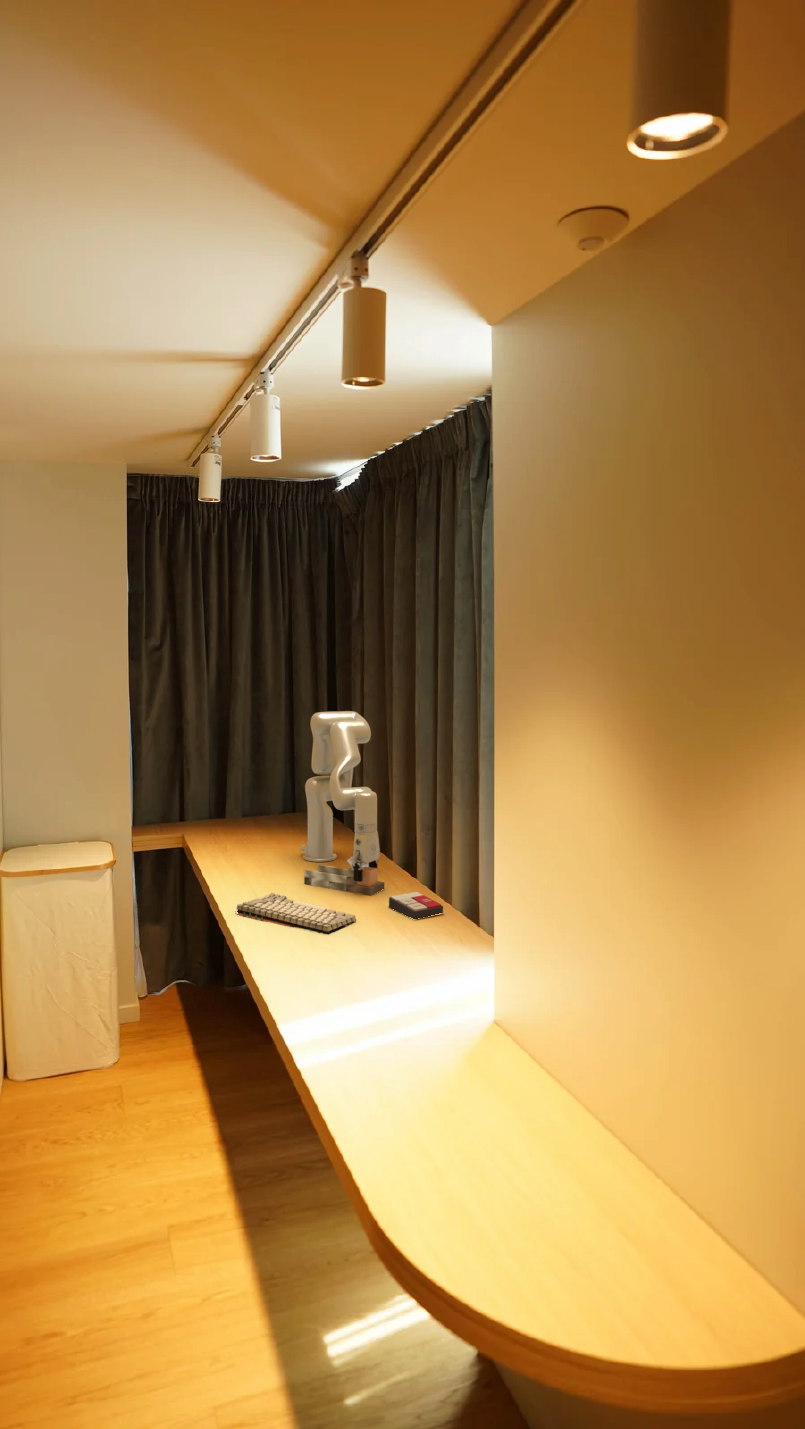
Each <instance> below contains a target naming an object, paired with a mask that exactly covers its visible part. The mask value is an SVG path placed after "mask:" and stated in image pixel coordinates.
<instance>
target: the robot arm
mask: <svg viewBox="0 0 805 1429" xmlns="http://www.w3.org/2000/svg"><path fill="white" fill-rule="evenodd" d="M310 730H311V733H312V750H311V751H312V752H311V753H312V754H311V770H312V772H313V773H314V774H315V775H317V776H313V777H310V778H308V779H307V780H306V782H305V785H304V789H305V796H306V805H307V844H301V845H300V847H299V852H300V851H302V852H304V853H305V854H303V859H304V860H305V861H309V862H314V863H315V862H316V863H322V862H323V863H324V862H325V863H326V862H331V861H334V860H336V859H337V854H336V853H335V852H333V848H334V847H333V840H334V838H333V837H334V836H333V835H334V834H333V833H334V831H333V828H334V827H333V824H334V823H333V822H334V820H333V818H334V817H333V816H334V813H333V810H332V808H331V807H330V806H329V805H328V803H327V802H330V801H332V803H333V806H334V808H335V809H337V810H339V811H350V810H351V811H352V810H353V811H354V840H353V851H352V854H353V855H352V856H351V857H352V858H351V857H350V858H351V863H352V867H353V869H354V881H358V882H362V881H363V870H361V869H362V866H363V863H365V864H367V863H369V867H372V868H378V864H379V858H380V852H381V848H380V842H379V841H380V840H379V832H378V796H377V793H376V791H372V789H371V788H370V787H368V786H359V787H354V786H353V787H352V783H353V776H354V768H356V767H357V766H358V765H359V764H360V763H361V760H362V759H361V754H360V750H359V747H358V746H359V744H366V743H368V742H370V740H371V736H372V731H371V727H370V725H369V723H368V722H367V720H366V719H365V718H364V717H363V716H362V715H361V714H359V713H358V712H357V711H353V710H352V711H350V710H345V711H344V710H343V711H340V710H339V711H319V712H315V713H314V714H312V716H311V718H310ZM370 862H371V863H370ZM358 863H360V865H358Z"/></svg>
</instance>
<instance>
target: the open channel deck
mask: <svg viewBox="0 0 805 1429" xmlns="http://www.w3.org/2000/svg"><path fill="white" fill-rule="evenodd" d="M316 870H317V871H316ZM316 870H310V869H304V870H303V876H304V878H303V883H304V884H303V885H308V886H313V887H318V886H320V888H324V887H326V889H330V888H332V889H331V890H336V891H343V892H349V893H354V894H360V895H365V896H370V895H372V896H374V895H376V894H378V893H380V892H382V891H383V890H382V889H384V890H385V882H384V881H380V880H378V883H376V884H374V885H372V886H365V885H359V884H357V881H354V870H351V868H349V869H348V868H344V867H336V866H331V865H324V864H317V869H316ZM381 890H382V891H381ZM379 891H380V892H379ZM377 892H378V893H377Z"/></svg>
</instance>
